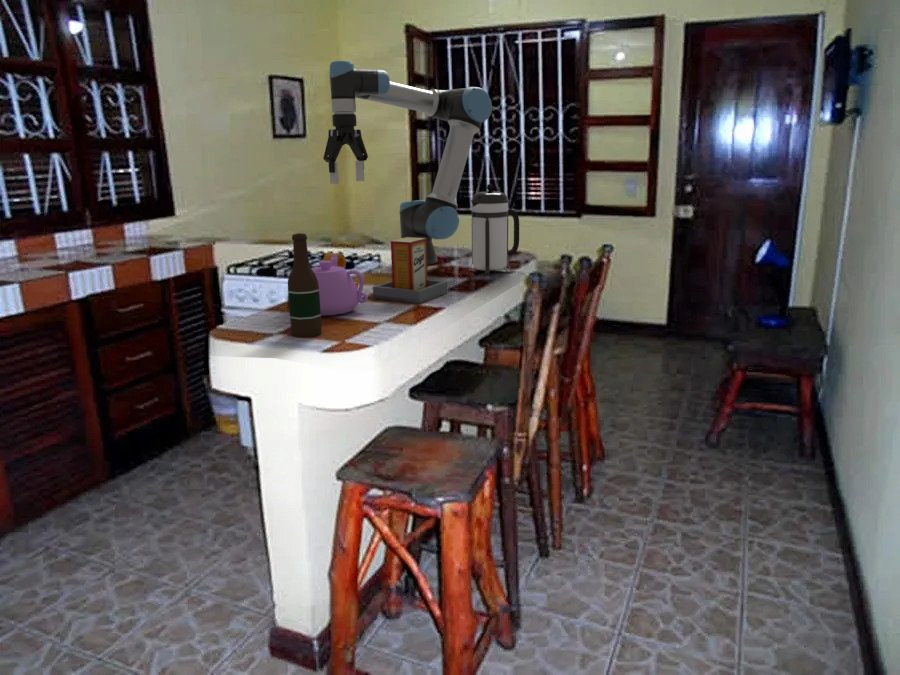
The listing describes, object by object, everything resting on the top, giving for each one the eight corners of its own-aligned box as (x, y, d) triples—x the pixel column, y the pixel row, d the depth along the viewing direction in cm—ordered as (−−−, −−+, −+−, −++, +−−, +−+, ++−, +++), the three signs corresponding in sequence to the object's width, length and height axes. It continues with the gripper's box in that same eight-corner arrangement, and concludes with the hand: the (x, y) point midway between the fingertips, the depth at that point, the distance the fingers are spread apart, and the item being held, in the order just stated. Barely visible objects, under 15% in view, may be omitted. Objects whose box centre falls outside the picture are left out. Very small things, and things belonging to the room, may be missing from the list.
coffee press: (509, 276, 234) (510, 185, 226) (463, 275, 238) (462, 185, 230) (519, 267, 250) (520, 182, 242) (475, 266, 254) (475, 182, 246)
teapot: (374, 300, 203) (372, 253, 199) (364, 318, 182) (361, 266, 178) (299, 301, 203) (295, 254, 200) (280, 319, 183) (276, 267, 179)
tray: (403, 288, 219) (402, 277, 218) (447, 292, 211) (447, 281, 210) (373, 298, 205) (372, 286, 204) (419, 303, 198) (419, 291, 197)
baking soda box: (409, 288, 213) (407, 235, 209) (427, 289, 211) (426, 236, 206) (392, 294, 205) (390, 240, 201) (411, 296, 202) (410, 241, 198)
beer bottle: (285, 337, 166) (276, 236, 159) (297, 328, 173) (289, 231, 167) (316, 338, 164) (309, 236, 158) (327, 329, 172) (320, 231, 165)
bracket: (338, 297, 207) (336, 257, 204) (319, 295, 211) (316, 256, 207) (359, 290, 216) (357, 252, 213) (340, 288, 220) (338, 250, 216)
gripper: (358, 114, 233) (361, 179, 239) (308, 113, 212) (313, 184, 218) (376, 114, 229) (379, 180, 235) (328, 112, 208) (332, 184, 214)
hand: (347, 182), depth 226 cm, fingers open, 13 cm apart
